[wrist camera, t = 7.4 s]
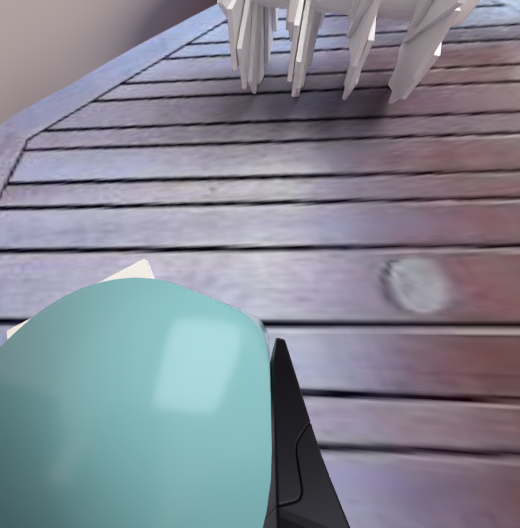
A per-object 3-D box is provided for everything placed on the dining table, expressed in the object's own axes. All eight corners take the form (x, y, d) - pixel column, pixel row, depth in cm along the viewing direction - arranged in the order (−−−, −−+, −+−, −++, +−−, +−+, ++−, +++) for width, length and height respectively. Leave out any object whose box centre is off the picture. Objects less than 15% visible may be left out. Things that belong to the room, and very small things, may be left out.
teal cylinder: (225, 390, 14) (-93, 908, 2) (199, 331, 15) (-81, 371, 3) (281, 355, 15) (348, 545, 2) (250, 300, 16) (187, 231, 4)
